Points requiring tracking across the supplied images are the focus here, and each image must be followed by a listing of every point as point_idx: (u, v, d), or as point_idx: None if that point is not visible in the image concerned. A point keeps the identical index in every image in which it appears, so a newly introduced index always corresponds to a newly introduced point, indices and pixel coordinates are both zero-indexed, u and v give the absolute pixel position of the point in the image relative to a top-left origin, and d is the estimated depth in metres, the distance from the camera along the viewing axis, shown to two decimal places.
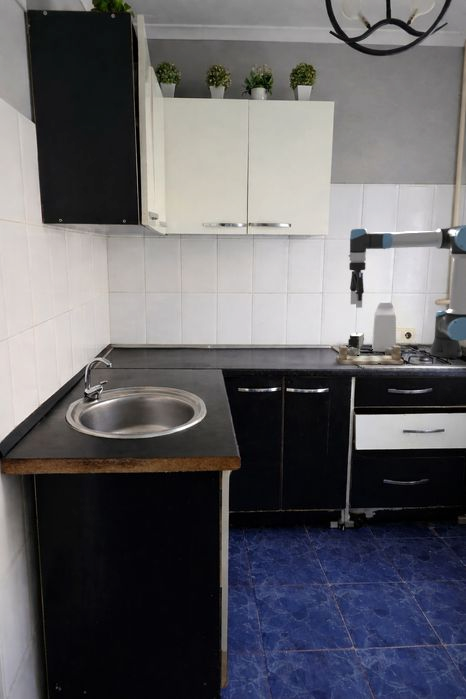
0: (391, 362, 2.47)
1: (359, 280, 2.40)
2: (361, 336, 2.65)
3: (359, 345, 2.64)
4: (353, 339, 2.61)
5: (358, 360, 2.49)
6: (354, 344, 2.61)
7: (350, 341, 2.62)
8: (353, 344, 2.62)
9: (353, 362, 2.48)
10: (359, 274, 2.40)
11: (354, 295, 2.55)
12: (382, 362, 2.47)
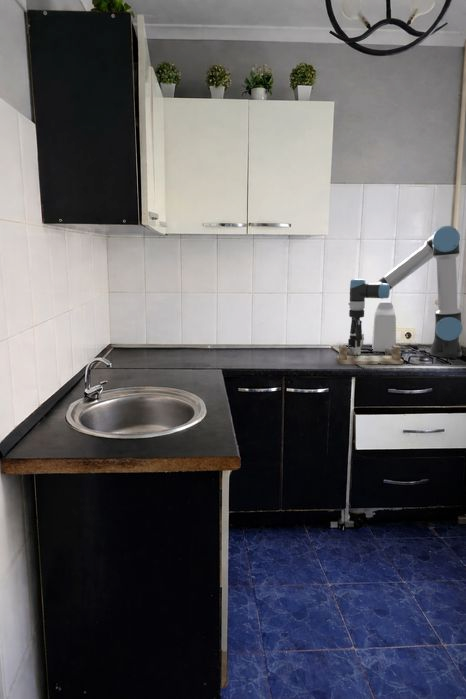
0: (391, 362, 2.47)
1: (358, 328, 2.58)
2: None
3: None
4: (353, 339, 2.61)
5: (358, 360, 2.49)
6: (354, 344, 2.61)
7: (350, 341, 2.62)
8: (353, 344, 2.62)
9: (353, 362, 2.48)
10: (358, 322, 2.58)
11: None
12: (382, 362, 2.47)
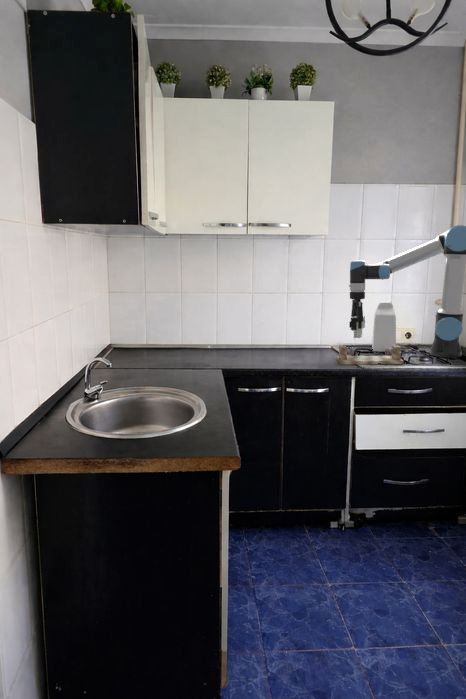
0: (391, 362, 2.47)
1: (359, 309, 2.56)
2: None
3: None
4: (354, 321, 2.59)
5: (358, 360, 2.49)
6: (355, 326, 2.60)
7: (351, 323, 2.60)
8: (354, 326, 2.60)
9: (353, 362, 2.48)
10: (359, 304, 2.56)
11: None
12: (382, 362, 2.47)
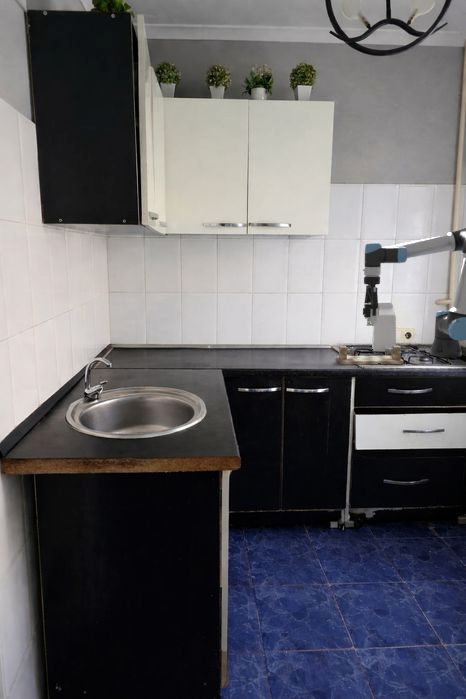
0: (391, 362, 2.47)
1: (374, 295, 2.40)
2: None
3: None
4: (368, 308, 2.43)
5: (358, 360, 2.49)
6: (369, 313, 2.43)
7: (365, 310, 2.44)
8: (368, 313, 2.44)
9: (353, 362, 2.48)
10: (374, 289, 2.40)
11: None
12: (382, 362, 2.47)
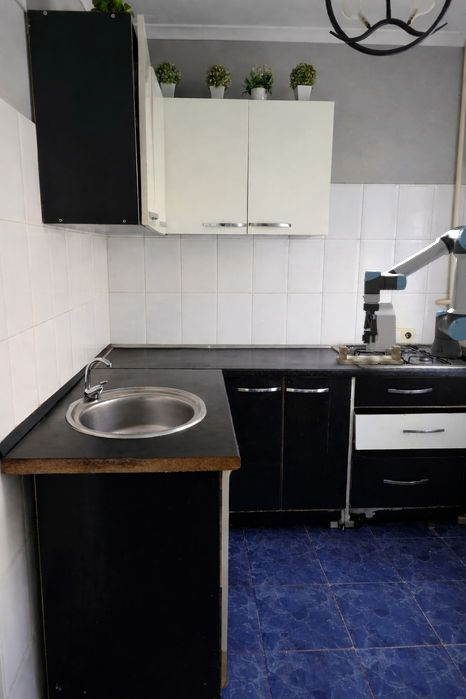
0: (391, 362, 2.47)
1: (373, 322, 2.42)
2: None
3: None
4: (367, 334, 2.46)
5: (358, 360, 2.49)
6: (368, 340, 2.46)
7: (364, 336, 2.46)
8: (367, 340, 2.46)
9: (353, 362, 2.48)
10: (373, 316, 2.42)
11: None
12: (382, 362, 2.47)
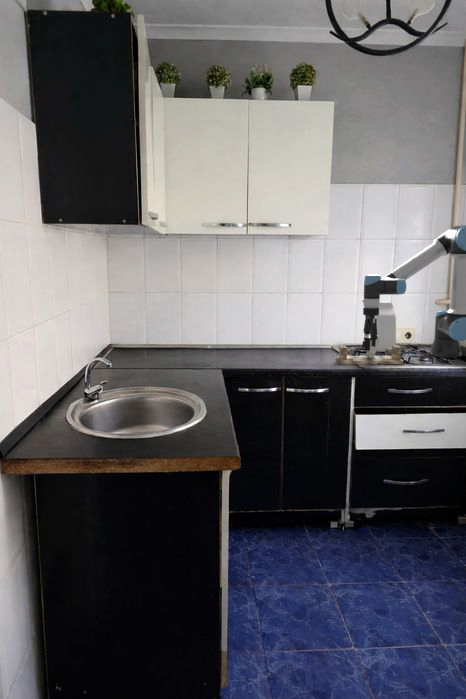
0: (391, 362, 2.47)
1: (373, 326, 2.42)
2: None
3: None
4: (367, 341, 2.46)
5: (358, 360, 2.49)
6: (369, 347, 2.46)
7: (364, 343, 2.47)
8: (367, 347, 2.47)
9: (353, 362, 2.48)
10: (373, 320, 2.42)
11: None
12: (382, 362, 2.47)
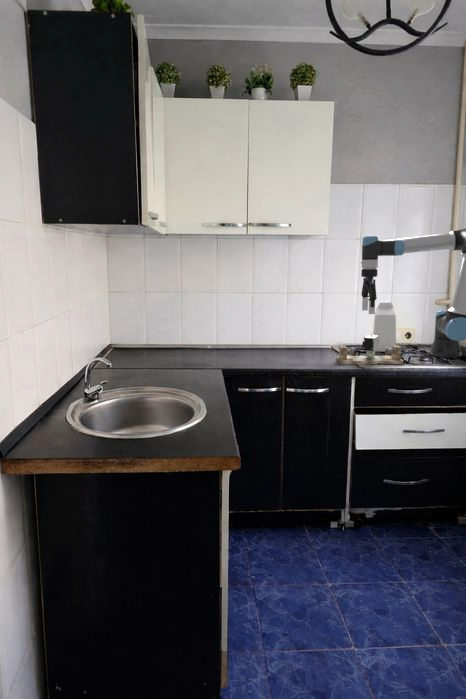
0: (391, 362, 2.47)
1: (372, 287, 2.42)
2: (376, 338, 2.50)
3: (374, 348, 2.48)
4: (367, 341, 2.46)
5: (358, 360, 2.49)
6: (368, 347, 2.46)
7: (364, 343, 2.47)
8: (367, 347, 2.47)
9: (353, 362, 2.48)
10: (372, 281, 2.42)
11: (366, 301, 2.57)
12: (382, 362, 2.47)
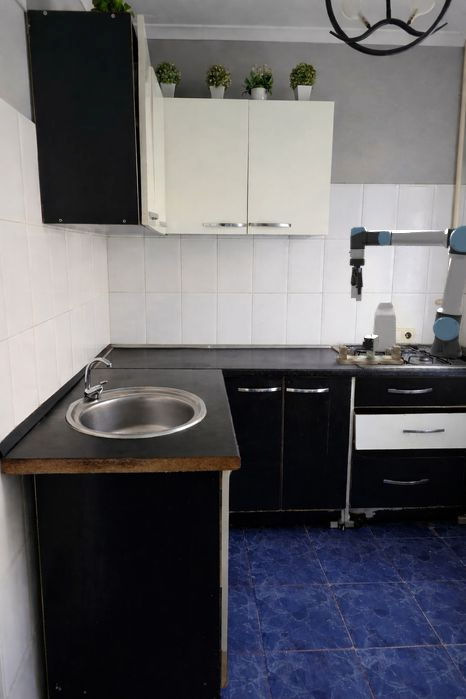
0: (391, 362, 2.47)
1: (358, 275, 2.55)
2: (376, 338, 2.50)
3: (374, 348, 2.48)
4: (367, 341, 2.46)
5: (358, 360, 2.49)
6: (368, 347, 2.46)
7: (364, 343, 2.47)
8: (367, 347, 2.47)
9: (353, 362, 2.48)
10: (358, 269, 2.56)
11: (354, 289, 2.71)
12: (382, 362, 2.47)
